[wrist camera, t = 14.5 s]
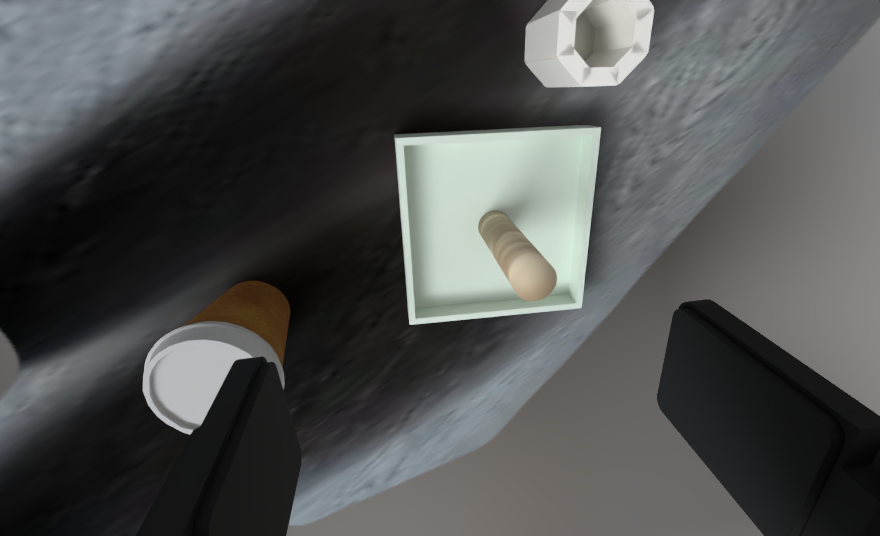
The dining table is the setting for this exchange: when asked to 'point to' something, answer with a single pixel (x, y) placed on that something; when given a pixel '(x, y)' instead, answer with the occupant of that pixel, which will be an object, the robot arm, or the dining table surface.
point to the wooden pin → (517, 257)
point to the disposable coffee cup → (214, 351)
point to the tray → (487, 189)
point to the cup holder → (588, 41)
